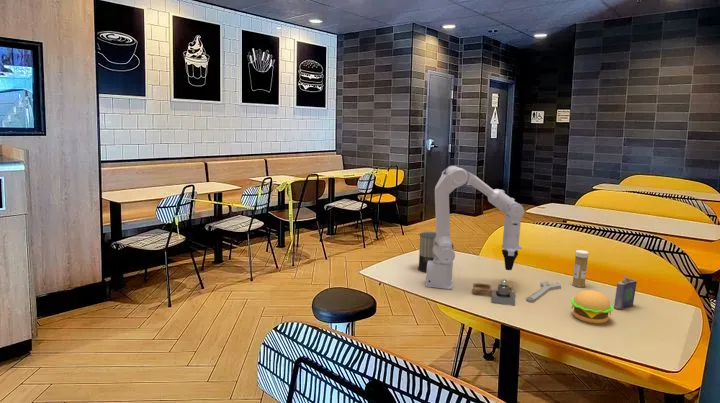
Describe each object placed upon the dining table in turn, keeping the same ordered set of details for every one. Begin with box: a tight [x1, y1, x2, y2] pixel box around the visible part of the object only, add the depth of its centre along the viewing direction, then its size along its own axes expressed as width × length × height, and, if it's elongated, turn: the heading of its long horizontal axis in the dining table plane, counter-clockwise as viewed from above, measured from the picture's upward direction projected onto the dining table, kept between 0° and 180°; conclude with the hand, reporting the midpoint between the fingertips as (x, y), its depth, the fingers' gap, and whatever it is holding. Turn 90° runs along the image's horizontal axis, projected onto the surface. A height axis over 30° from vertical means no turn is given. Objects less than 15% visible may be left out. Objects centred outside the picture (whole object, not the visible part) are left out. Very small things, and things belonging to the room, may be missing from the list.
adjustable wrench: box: [525, 280, 562, 303], centre depth 175 cm, size 25×6×2 cm, turn 135°
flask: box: [613, 275, 638, 310], centre depth 162 cm, size 9×3×11 cm, turn 121°
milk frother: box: [417, 231, 454, 273], centre depth 199 cm, size 14×16×15 cm
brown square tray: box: [472, 282, 492, 297], centre depth 172 cm, size 6×6×2 cm
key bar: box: [507, 280, 513, 292], centre depth 175 cm, size 2×7×2 cm, turn 166°
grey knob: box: [497, 279, 509, 297], centre depth 165 cm, size 4×4×7 cm
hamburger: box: [570, 289, 614, 324], centre depth 152 cm, size 12×12×9 cm
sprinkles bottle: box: [571, 249, 590, 288], centre depth 182 cm, size 5×5×13 cm
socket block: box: [490, 289, 517, 306], centre depth 167 cm, size 8×11×2 cm
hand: (508, 269), depth 180 cm, fingers closed
